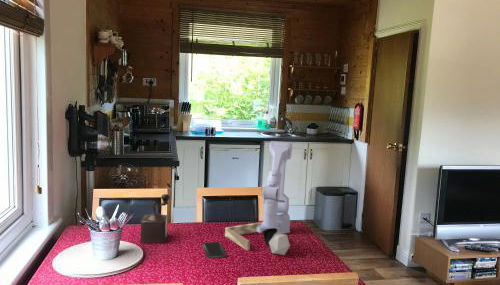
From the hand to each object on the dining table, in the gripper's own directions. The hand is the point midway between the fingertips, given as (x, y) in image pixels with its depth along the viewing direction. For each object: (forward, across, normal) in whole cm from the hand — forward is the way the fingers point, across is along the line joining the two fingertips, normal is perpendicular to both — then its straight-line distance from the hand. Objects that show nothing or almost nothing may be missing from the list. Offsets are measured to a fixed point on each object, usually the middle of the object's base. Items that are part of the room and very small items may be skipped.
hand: (268, 245), depth 174 cm
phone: (+2, +19, -13) cm, 23 cm away
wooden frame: (+1, -3, -11) cm, 11 cm away
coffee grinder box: (+2, +29, -41) cm, 50 cm away
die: (+2, 0, +6) cm, 6 cm away
